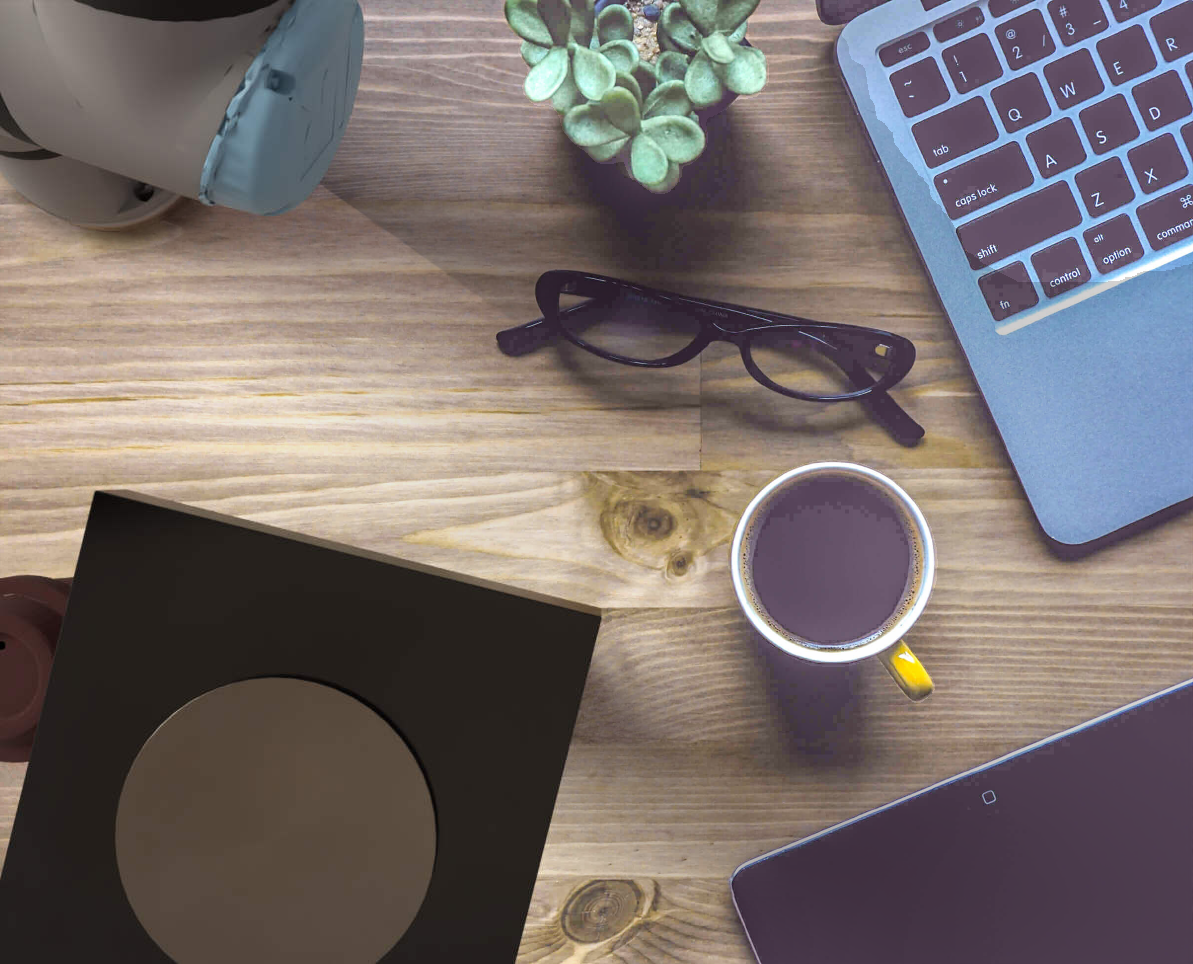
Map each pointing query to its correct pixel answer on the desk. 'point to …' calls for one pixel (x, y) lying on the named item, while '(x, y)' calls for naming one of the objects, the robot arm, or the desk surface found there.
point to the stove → (286, 752)
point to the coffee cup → (27, 655)
